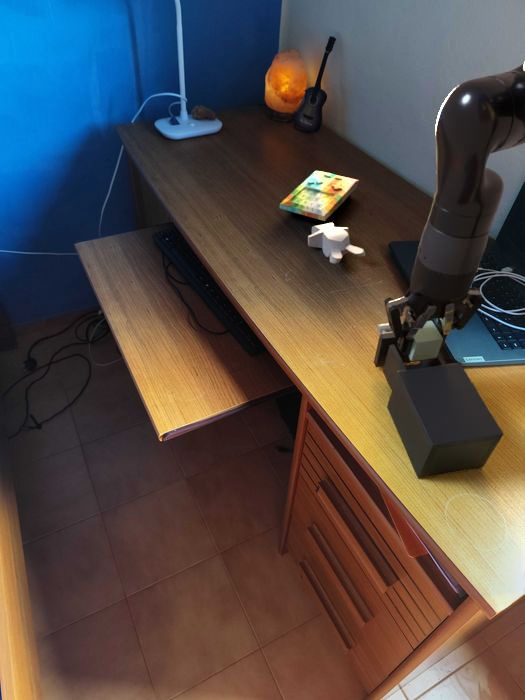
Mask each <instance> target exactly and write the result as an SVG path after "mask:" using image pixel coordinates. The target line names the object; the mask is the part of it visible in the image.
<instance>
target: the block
mask: <svg viewBox="0 0 525 700" xmlns="http://www.w3.org/2000/svg"><path fill="white" fill-rule="evenodd" d="M435 325H436V324H435V323H434V322H433V320H427V322H426V324H425V325H424V327H423V328H422V329H419V330H418V332H417V333H416V335H415V336H414V341H413V345H412V348H411V352H410V355H408V356H409V358H410V360H411V361H417V360H424V359H431V358H437V355H438V352H440V350H441V348H442V347H441V344H442V341H443V338H442V336H441V335H440V333H439V331H438V330H437V328H436V326H435ZM410 326H411V325H410ZM440 347H441V348H440ZM439 349H440V350H439ZM417 362H418V361H417Z"/></svg>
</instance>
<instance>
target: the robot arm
mask: <svg viewBox="0 0 525 700" xmlns="http://www.w3.org/2000/svg"><path fill="white" fill-rule="evenodd" d="M434 135H435V141H434V142H435V175H436V176H435V177H436V189H435V192H434V195H433V200H432V203H431V206H430V210H429V214H428V218H427V221H426V224H425V225H424V227H423V230H422V232H421V236H420V240H419V244H418V248H417V253H416V256H415V260H414V264H413V268H412V272H411V276H410V284H409V285H410V286H409V287H408V289H407V290H406V291H405V294H404V295H403V296H402V297H400V298H397V299H393V298H392V297H387V298H385V299H384V302H383V303H384V307H385V313H386V317H387V321H388V324H389V326H390V328H391V330H392V332H393V333H394V335H395V337H396V338H399V340H398V344H397V345H398V347H399V349H400V351H401V353H403V355H404V356H407V355H410V352H411V348H412V345H413V341H414V336H415V335H416V333H417V332H418V330H419V329H422V328H423V327H424V325H425V324H426V322H427V321H431V320H432V319H435V320H436V321H435V322H436V324H434V325H435V326H436V328H437V330H438V331H439V333H440V335H441V336H442V338H443V341H442V344H441V347H440V349H439V351H440V350H441V348H443V347H444V345H445V342H446V340H447V337H448V335H449V334H450V333H452V331H453V330H457V331H461V330H463V329H464V328H465V327H466V326H467V324H468V323H469V322H470V320H471V319H472V318H473V316H474V315H475V314H476V313H477V311H478V310H479V309H480V308H481V306H482V305H483V304H484V303H485V301H486V299H485V298H484V296H483V295H482V293H481V292H480V290H478V288H477V287H476V286H472V285H473V283H474V280H475V278H476V276H477V275H476V274H477V272H478V270H479V266H480V264H481V262H482V260H483V256H484V254H485V251H486V248H487V245H488V241H489V235H490V231H491V228H492V226H493V223H494V221H495V218H496V215H497V212H498V210H499V208H500V204H501V201H502V198H503V195H504V191H505V184H504V180H503V178H502V177H501V175H500V174H499V173H498V172H497V171H495V170H493V169H490V168H489V167H487V162H488V159H489V157H490V156H491V154H494V153H498V152H501V151H504V150H509V149H512V148H516V147H518V146H521V145H524V144H525V62H524V63H522V64H520V65H519V66H516V68H513V69H511V70H509V71H503V72H501V73H496V74H491V75H487V76H482V77H476V78H472V79H468V80H465V81H464V82H461V83H459V84H458V85H457V86H455V88H453V89H452V91H451V92H450V93H449V94H448V96H447V97H446V98H445V100H444V102H443V103H442V105H441V107H440V110H439V112H438V115H437V119H436V124H435V134H434ZM406 307H407V309H406V311H405V308H406ZM404 311H405V316H404ZM403 316H404V318H403V320H402V319H401V317H403ZM401 322H402V323H401ZM410 325H411V326H410Z"/></svg>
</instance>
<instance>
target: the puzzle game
mask: <svg viewBox="0 0 525 700" xmlns="http://www.w3.org/2000/svg"><path fill="white" fill-rule="evenodd" d="M359 181H360V180H359V179H355V178H351V177H346V176H341V175H338V174H334V173H330V172H325V171H321V170H315V171H314V172H312V173H311V174H310V175H309V176H308V177H307V178H306V179H305V180H304V181H302V183H301V184H300V185H298V186H297V187H296V188H294V190H293V191H292V192H291V193H290V194H289V195H288V196H286V198H284V199H283V200H282V201H281V202H280V203H279V209H281V210H285V211H288V212H292V213H295V214H299V215H301V216H305V217H309V218H313V219H315V220H319V221H323V222H326V221H327V220H328V219H329V218H330V217H331V216H332V215H333V214H334V213H335V211H336V210H337V209H338V208H339V207H340V206H341V205H342V204H343V203H344V202H345V201H346V200H347V198H349V197H350V195H352V194H353V192H354V191H355V190H356V189H357V187H358V186H359Z"/></svg>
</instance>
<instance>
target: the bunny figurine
mask: <svg viewBox="0 0 525 700" xmlns="http://www.w3.org/2000/svg"><path fill="white" fill-rule="evenodd" d="M307 246H309V247H311V248H312V247H313V248H318V249H322V252H323V253H322V254H323V255H324V256H325V257H326V258H329V262H330V263H331V264H338V263H340V262H341V260H342V258H343V256H344V255H346V254H348V253H351V254H352V255H354V256H356V257H359V258H362V257H363V258H364V257H365V256H366V252H365V250H364V248H362V247H358V246H354V245H352V244H351V240H350V234H349V227H343V226H342V227H341V226H335V224H334V223H333V222H327V223H324V224H323V223H322V224H318V225H313V226H311V234H309V235H307Z"/></svg>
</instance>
